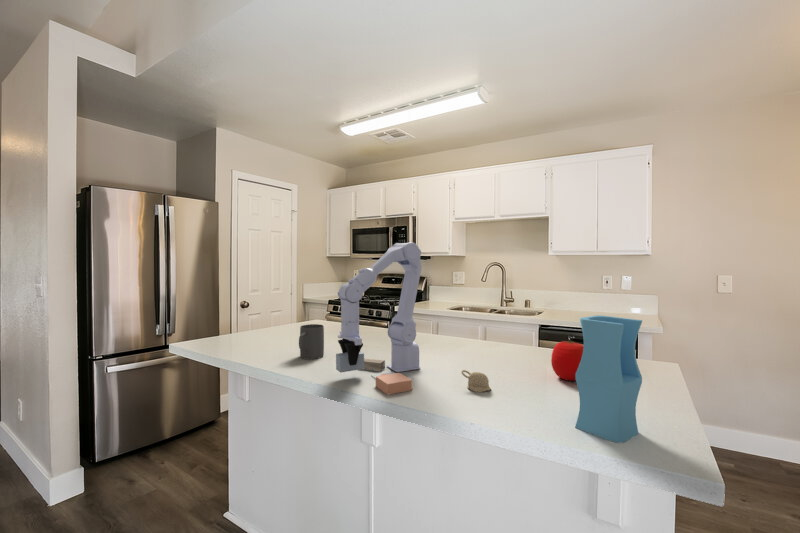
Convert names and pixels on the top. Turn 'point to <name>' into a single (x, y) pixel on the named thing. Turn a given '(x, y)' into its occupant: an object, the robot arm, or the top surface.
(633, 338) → the vase
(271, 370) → the top surface
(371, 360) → the brick
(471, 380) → the decorative ornament
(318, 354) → the mug
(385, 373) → the page
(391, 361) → the robot arm
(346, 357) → the top brick
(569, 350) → the tomato
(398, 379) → the base brick
